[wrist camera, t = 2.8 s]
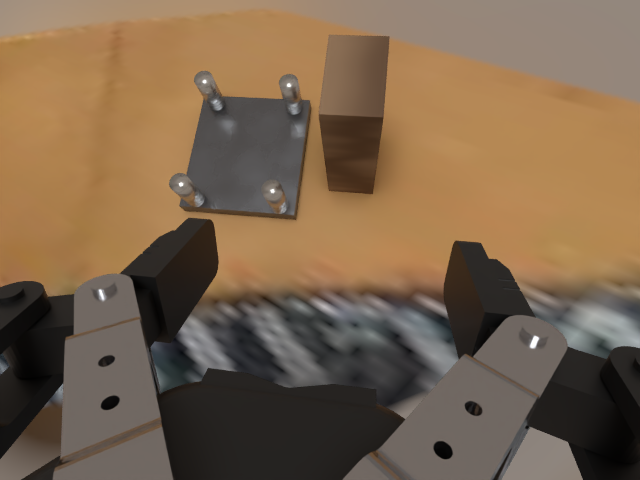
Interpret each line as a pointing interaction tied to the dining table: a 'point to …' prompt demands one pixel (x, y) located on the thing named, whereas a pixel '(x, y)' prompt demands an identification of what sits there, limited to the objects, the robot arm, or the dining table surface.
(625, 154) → the dining table surface
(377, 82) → the brown wooden block
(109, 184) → the dining table surface
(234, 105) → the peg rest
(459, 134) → the dining table surface
